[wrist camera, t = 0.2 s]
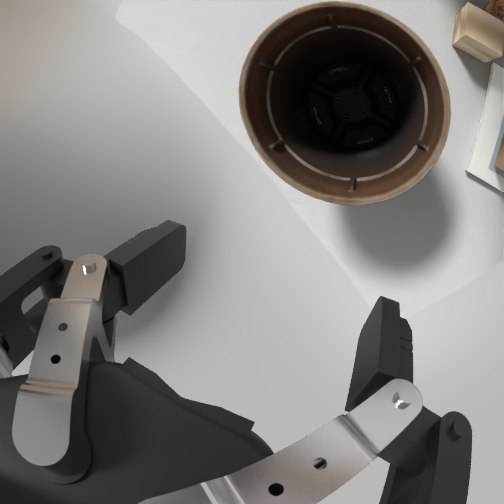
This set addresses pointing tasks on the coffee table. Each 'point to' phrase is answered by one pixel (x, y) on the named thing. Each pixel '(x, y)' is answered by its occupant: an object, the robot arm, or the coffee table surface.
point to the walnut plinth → (500, 157)
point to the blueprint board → (490, 132)
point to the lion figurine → (496, 8)
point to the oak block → (478, 33)
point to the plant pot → (344, 103)
